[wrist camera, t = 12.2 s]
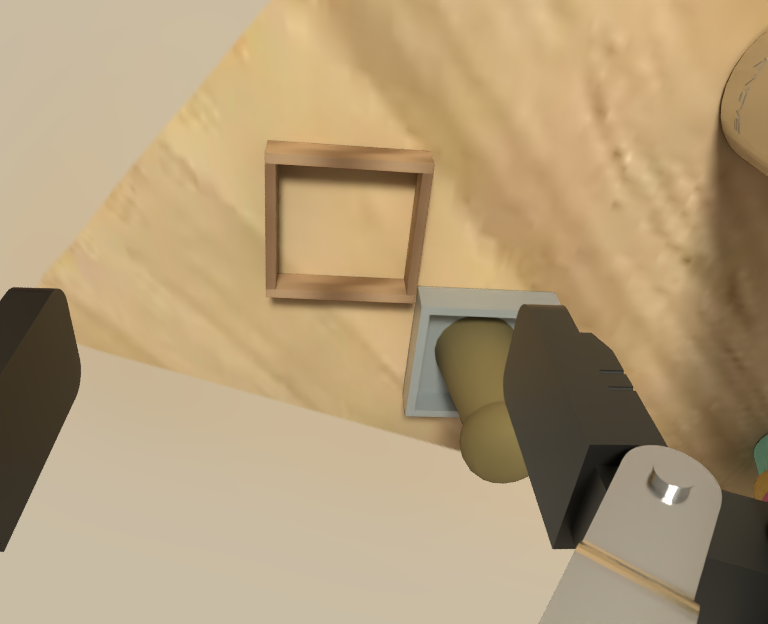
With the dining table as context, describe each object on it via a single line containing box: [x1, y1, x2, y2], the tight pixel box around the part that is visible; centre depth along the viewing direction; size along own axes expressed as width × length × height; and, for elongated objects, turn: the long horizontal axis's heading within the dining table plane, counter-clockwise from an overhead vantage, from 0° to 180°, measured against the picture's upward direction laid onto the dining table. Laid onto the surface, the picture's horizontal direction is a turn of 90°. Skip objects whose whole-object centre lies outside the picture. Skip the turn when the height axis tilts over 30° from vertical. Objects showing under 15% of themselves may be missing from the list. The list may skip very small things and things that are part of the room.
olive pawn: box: [434, 316, 529, 483], centre depth 43 cm, size 6×6×11 cm
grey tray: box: [403, 286, 561, 418], centre depth 47 cm, size 10×10×2 cm
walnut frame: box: [265, 140, 434, 303], centre depth 41 cm, size 10×10×2 cm
